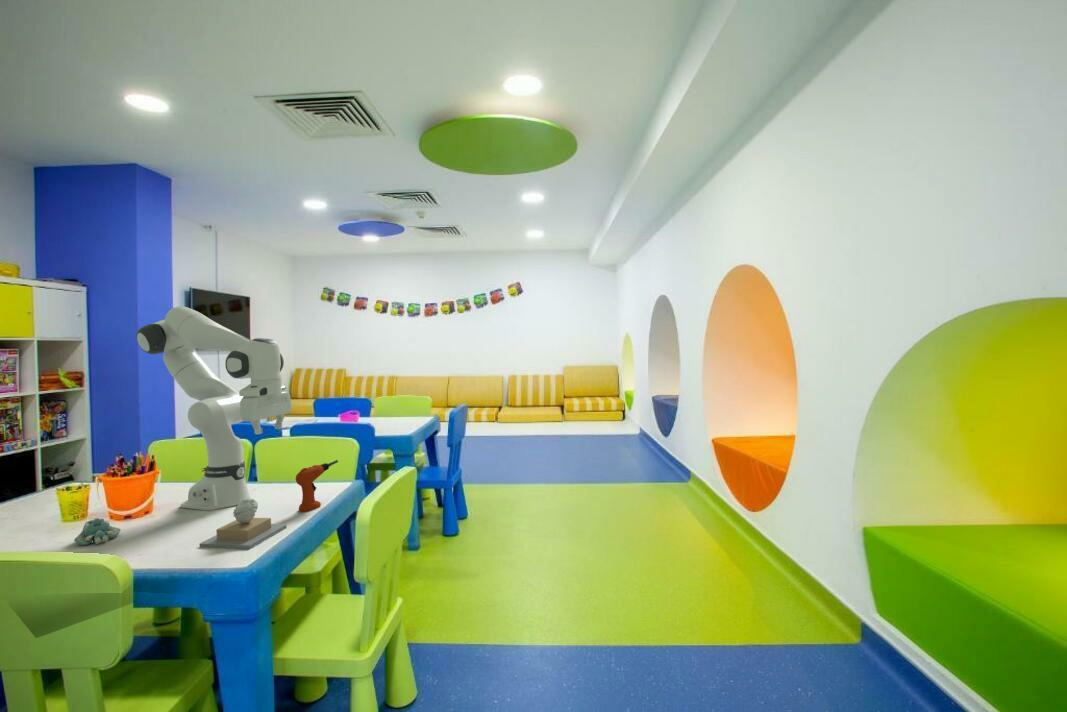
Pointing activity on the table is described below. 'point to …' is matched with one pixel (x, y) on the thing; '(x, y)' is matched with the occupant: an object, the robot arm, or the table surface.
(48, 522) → the table surface
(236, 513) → the grey lumpy sculpture
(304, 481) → the toy drill
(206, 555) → the table surface
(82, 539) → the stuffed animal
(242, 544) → the baseplate
